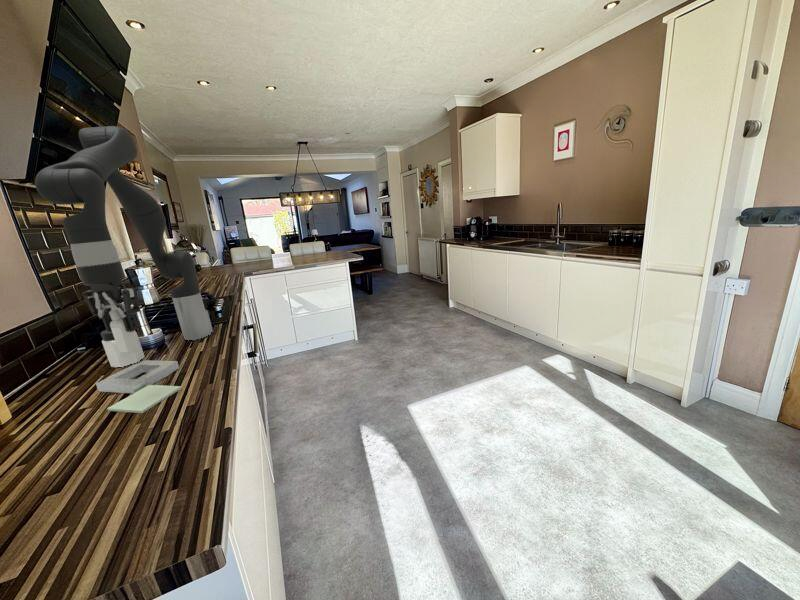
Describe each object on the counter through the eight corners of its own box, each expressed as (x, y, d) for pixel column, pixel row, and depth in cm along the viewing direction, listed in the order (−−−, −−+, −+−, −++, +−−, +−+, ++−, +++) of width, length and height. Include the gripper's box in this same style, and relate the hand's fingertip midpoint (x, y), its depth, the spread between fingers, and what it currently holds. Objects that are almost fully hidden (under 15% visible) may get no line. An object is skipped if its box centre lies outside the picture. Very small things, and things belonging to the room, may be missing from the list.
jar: (112, 371, 103) (99, 336, 99) (110, 363, 108) (98, 330, 105) (146, 360, 108) (135, 327, 105) (143, 354, 114) (132, 322, 111)
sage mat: (149, 386, 90) (149, 384, 90) (181, 388, 87) (181, 386, 87) (107, 410, 79) (106, 408, 79) (142, 413, 77) (141, 411, 77)
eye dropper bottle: (116, 357, 76) (98, 309, 73) (120, 350, 81) (104, 304, 78) (139, 352, 78) (123, 305, 75) (142, 345, 83) (127, 300, 80)
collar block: (145, 367, 103) (143, 360, 102) (180, 368, 100) (178, 361, 99) (97, 391, 90) (94, 383, 89) (136, 393, 87) (133, 385, 86)
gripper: (139, 257, 75) (160, 325, 80) (93, 260, 79) (116, 325, 83) (104, 263, 68) (129, 337, 73) (56, 266, 72) (83, 336, 76)
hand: (122, 330), depth 78 cm, fingers closed on eye dropper bottle, 5 cm apart
